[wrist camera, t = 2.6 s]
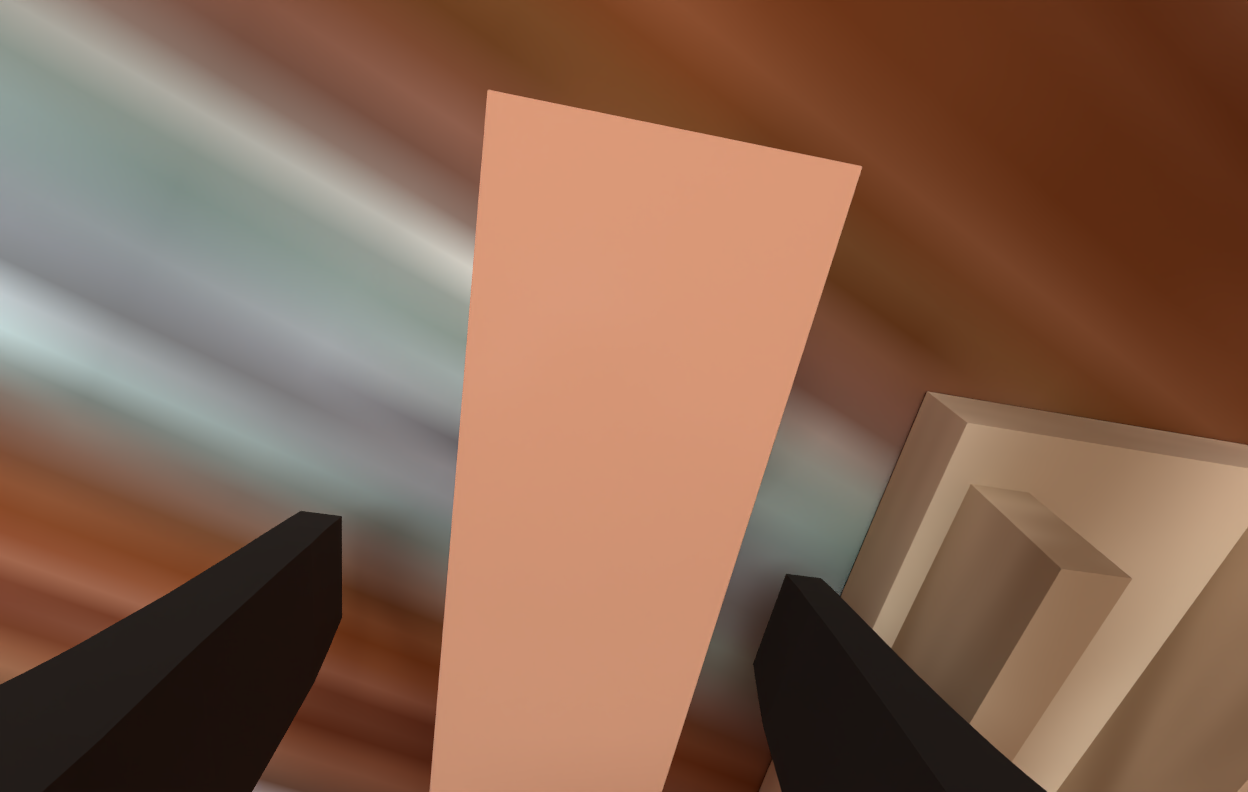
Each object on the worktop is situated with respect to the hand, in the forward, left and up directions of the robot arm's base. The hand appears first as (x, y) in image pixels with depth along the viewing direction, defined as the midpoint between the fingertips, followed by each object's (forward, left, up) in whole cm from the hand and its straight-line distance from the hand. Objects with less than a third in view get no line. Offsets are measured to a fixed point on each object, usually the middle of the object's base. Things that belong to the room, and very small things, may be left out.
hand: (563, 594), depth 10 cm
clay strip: (0, 0, -2) cm, 2 cm away
